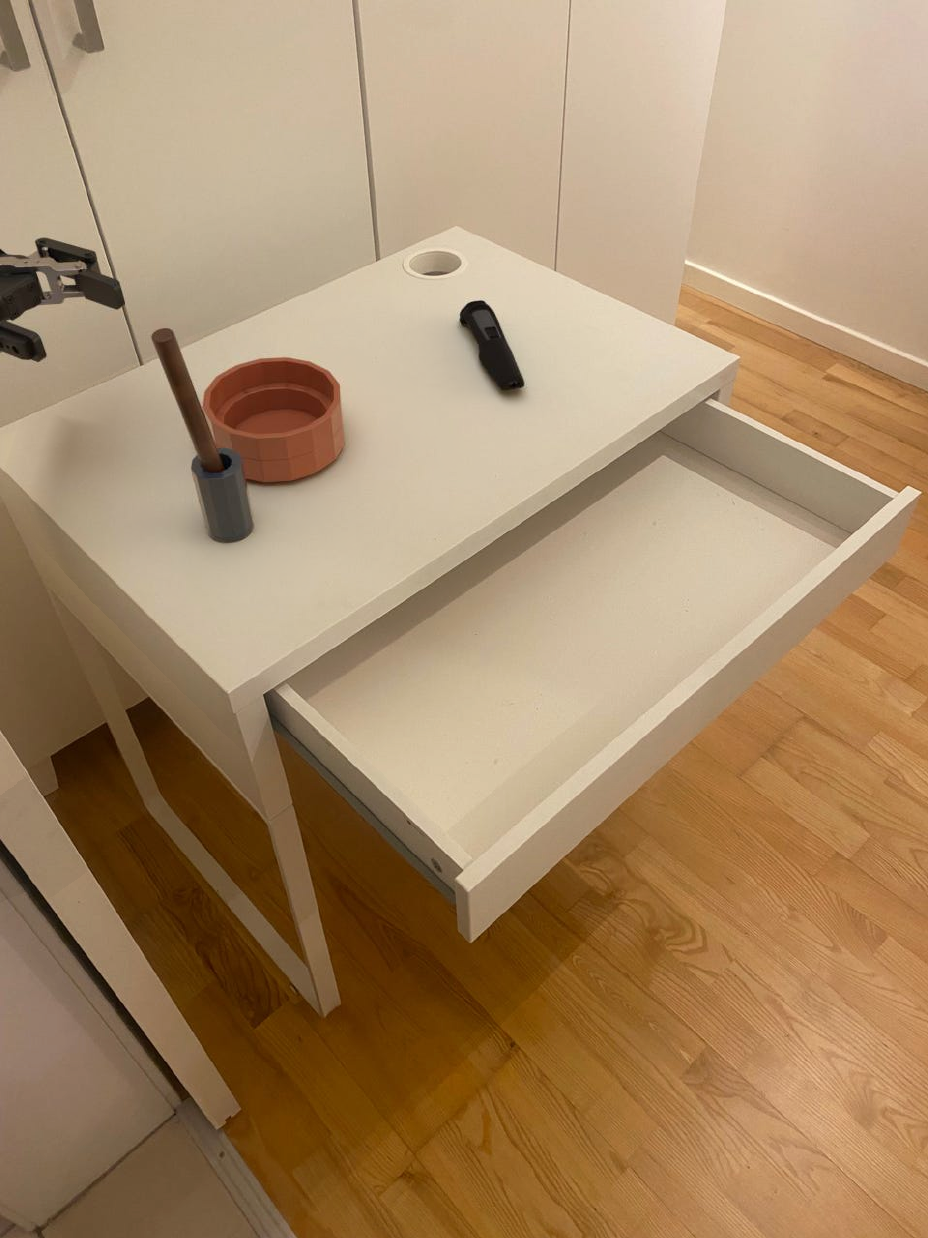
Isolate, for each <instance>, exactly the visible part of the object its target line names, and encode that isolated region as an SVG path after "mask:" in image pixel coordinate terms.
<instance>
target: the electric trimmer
mask: <svg viewBox="0 0 928 1238" xmlns="http://www.w3.org/2000/svg"><path fill="white" fill-rule="evenodd" d="M459 323H460V324H461V325H462V326H463V325H464V326H466V325H467V326H468V328H469V330H470V332H471V333H472V336H473V337H474V340H475V342H476V344H477V347H478V358H479V359H478V360H479V362H480V364H481V365H482V367H483V368H484V369H485V371H486V372H487V373H488V374H489V376H490V377H491V379H492V380H493V381H494V383H496V385H497V386H498V388H499V389H500V390H501V391H509V390H515V389H522V388H524V386H525V380H524V377H523V374H522V373H521V370H520V367H519V365H518V362H517V360H516V357H515V355H514V353H513V351H512V349H511V347H510V344H509V343H508V341H507V339H506V337H505V334H504V332H503V329H502V327H501V325H500V322H499V320H498V318H497V316H496V314H495V312H494V310H493V308H492V307H491V306H490V305H489V304H488V303H487V302H486V301H485V300H482V299H480V300H473V301H469V302H467V303H466V304H465V305H464V306H463V307H462V309H461V311H460V312H459Z"/></svg>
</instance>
